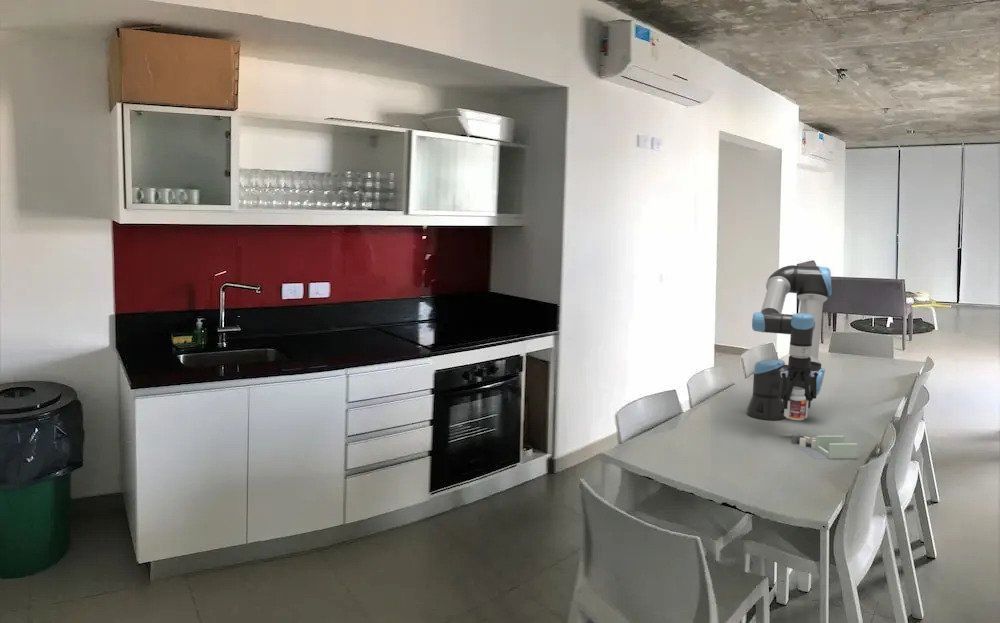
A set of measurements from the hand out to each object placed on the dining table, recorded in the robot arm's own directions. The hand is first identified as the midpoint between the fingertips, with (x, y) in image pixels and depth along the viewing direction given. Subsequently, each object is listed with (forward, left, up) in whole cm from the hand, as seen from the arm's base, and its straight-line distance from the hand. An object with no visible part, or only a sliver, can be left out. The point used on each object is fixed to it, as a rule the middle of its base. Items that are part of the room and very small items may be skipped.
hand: (795, 416), depth 270 cm
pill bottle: (0, 0, -1) cm, 1 cm away
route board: (+15, +4, -9) cm, 18 cm away
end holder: (+19, +6, -8) cm, 21 cm away
